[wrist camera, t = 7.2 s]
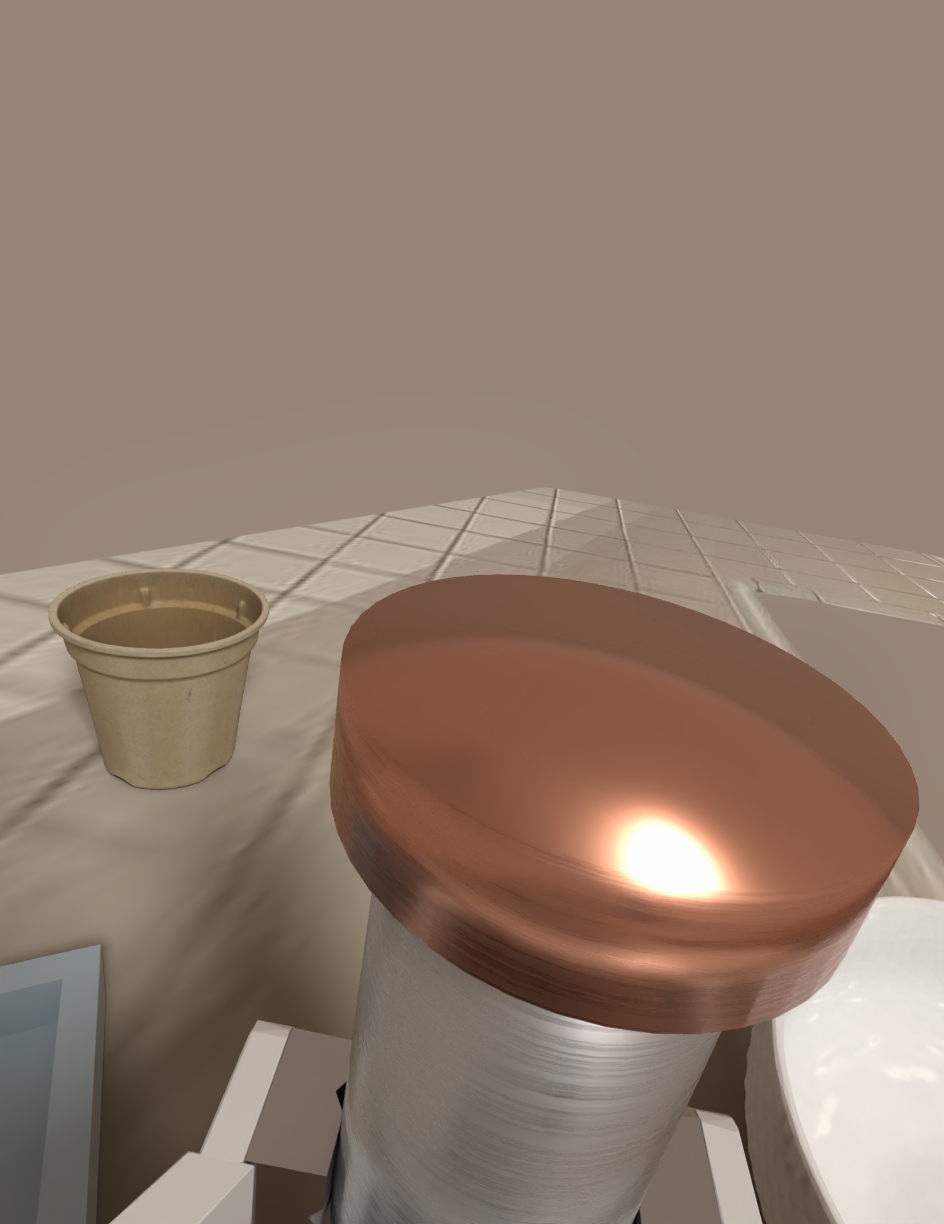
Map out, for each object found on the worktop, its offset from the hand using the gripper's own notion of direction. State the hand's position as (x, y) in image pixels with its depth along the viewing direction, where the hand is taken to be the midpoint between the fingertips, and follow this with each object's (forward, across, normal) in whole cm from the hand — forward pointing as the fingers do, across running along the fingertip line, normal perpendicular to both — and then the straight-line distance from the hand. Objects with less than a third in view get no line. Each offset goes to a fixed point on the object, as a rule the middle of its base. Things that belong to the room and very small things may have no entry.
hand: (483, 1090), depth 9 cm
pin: (-1, 0, +10) cm, 10 cm away
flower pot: (+22, +16, +14) cm, 30 cm away
